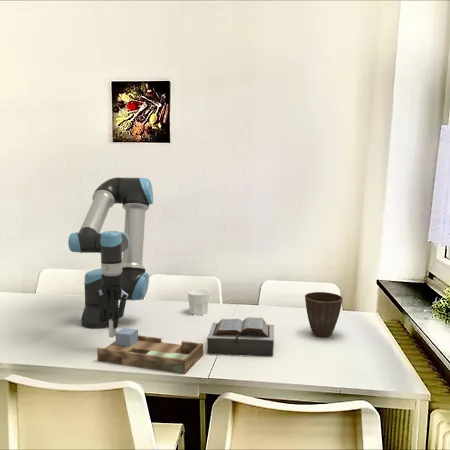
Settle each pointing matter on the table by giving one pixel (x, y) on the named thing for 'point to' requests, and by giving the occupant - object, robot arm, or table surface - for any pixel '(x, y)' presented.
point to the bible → (241, 337)
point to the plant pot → (323, 312)
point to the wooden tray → (153, 354)
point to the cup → (198, 301)
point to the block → (126, 337)
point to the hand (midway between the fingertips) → (112, 336)
